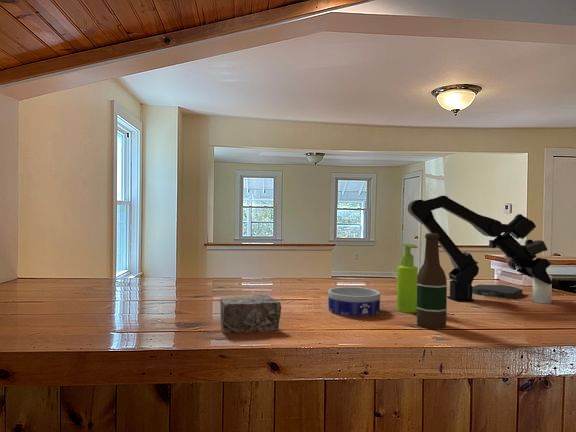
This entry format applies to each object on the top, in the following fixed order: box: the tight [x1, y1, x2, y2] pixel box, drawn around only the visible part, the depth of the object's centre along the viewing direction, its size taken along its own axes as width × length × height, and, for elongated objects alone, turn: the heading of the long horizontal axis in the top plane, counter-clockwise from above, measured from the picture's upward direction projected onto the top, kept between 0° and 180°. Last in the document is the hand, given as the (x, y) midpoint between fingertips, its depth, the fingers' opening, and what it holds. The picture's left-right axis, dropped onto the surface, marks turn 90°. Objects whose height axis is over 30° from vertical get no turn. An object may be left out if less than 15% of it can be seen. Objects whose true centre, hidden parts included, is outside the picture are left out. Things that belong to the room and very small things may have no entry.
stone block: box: [219, 293, 282, 334], centre depth 103 cm, size 14×9×8 cm, turn 110°
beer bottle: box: [416, 232, 448, 330], centre depth 106 cm, size 8×8×24 cm
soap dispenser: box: [396, 243, 419, 314], centre depth 122 cm, size 6×7×20 cm
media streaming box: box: [472, 284, 524, 300], centre depth 150 cm, size 15×15×3 cm
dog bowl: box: [327, 286, 381, 318], centre depth 122 cm, size 15×15×6 cm
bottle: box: [531, 268, 553, 305], centre depth 137 cm, size 5×5×12 cm
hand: (546, 282), depth 137 cm, fingers closed on bottle, 5 cm apart
